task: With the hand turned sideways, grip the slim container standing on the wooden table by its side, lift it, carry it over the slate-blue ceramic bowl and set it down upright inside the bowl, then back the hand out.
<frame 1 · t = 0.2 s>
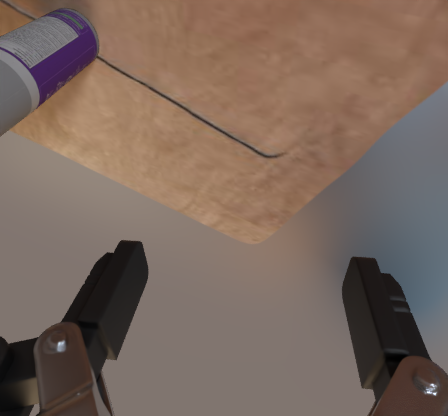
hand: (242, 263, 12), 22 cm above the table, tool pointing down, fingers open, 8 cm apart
container: (75, 36, 29), on the table
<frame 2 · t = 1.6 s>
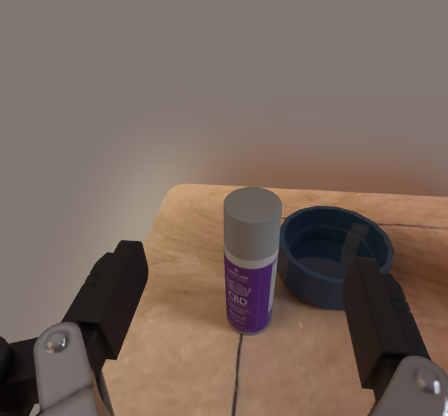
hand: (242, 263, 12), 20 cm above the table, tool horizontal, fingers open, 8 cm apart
container: (248, 316, 34), on the table
bowl: (326, 269, 38), on the table
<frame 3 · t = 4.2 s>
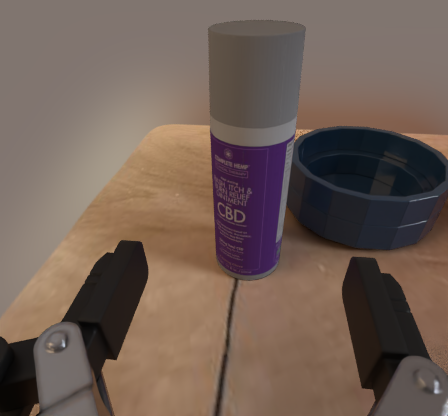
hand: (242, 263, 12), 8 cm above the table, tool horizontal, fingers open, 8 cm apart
container: (247, 257, 24), on the table
bowl: (353, 206, 28), on the table
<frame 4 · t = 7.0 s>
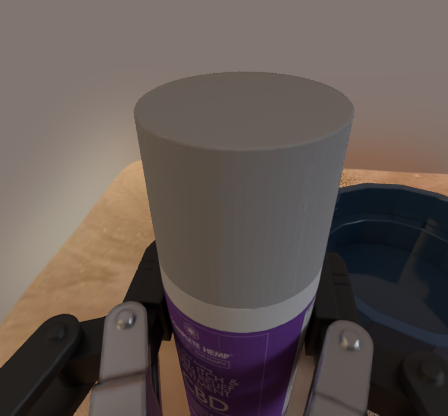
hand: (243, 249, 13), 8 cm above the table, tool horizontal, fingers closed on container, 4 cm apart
container: (237, 403, 16), on the table, touching gripper
bowl: (386, 299, 20), on the table
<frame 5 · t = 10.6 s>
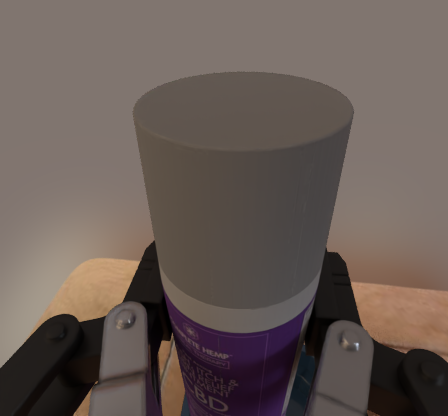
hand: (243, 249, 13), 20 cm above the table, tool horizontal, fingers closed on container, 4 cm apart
container: (237, 403, 16), point 11 cm above the table, touching gripper
when the fingers open (9 cm above the table, at t = 14.4 s): container stays where it is, resting on bowl.
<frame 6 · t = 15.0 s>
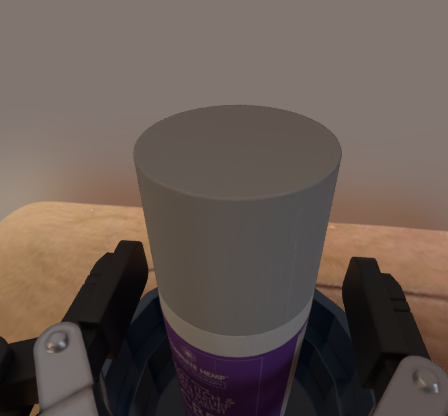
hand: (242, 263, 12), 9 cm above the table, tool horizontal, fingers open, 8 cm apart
container: (234, 414, 16), resting on bowl
bowl: (235, 414, 17), on the table
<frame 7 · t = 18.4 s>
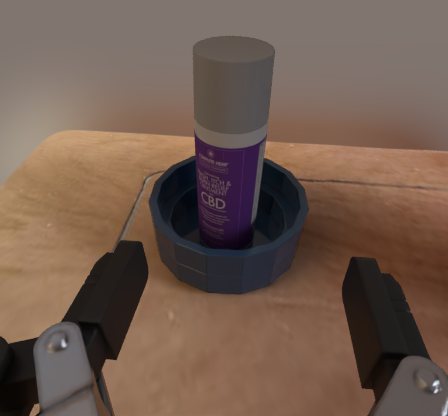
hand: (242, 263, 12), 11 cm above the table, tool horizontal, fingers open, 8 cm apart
container: (226, 235, 27), resting on bowl
bowl: (227, 237, 28), on the table
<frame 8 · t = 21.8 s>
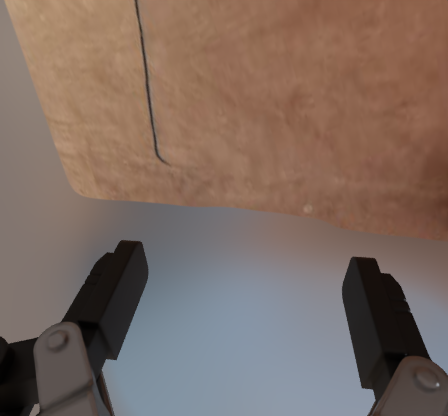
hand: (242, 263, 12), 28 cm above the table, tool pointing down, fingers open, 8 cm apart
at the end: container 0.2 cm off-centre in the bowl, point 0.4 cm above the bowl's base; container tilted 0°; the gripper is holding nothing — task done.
